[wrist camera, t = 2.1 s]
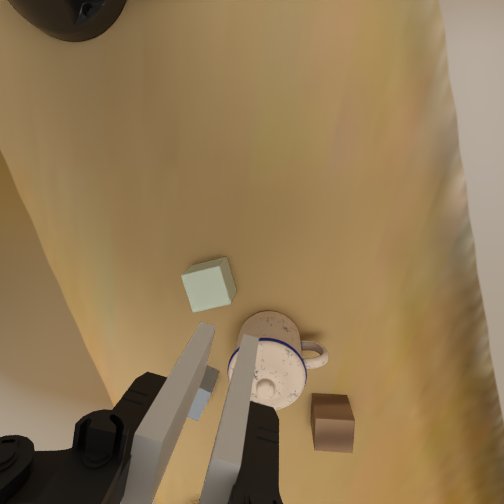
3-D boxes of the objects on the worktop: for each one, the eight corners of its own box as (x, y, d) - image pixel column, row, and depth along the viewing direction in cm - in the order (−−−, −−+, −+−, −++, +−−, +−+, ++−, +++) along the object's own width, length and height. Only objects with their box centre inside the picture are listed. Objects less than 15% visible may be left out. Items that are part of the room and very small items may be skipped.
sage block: (192, 265, 41) (180, 275, 37) (226, 256, 41) (219, 265, 36) (203, 298, 42) (193, 312, 38) (236, 290, 42) (230, 304, 37)
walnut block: (311, 392, 44) (315, 418, 39) (346, 394, 44) (355, 420, 39) (310, 421, 45) (314, 450, 40) (344, 423, 45) (352, 453, 40)
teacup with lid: (242, 368, 44) (229, 431, 33) (233, 311, 42) (215, 357, 31) (325, 362, 43) (341, 426, 31) (319, 303, 41) (333, 348, 30)
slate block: (188, 356, 45) (177, 377, 40) (219, 370, 45) (211, 393, 40) (176, 382, 46) (164, 406, 41) (206, 396, 46) (197, 421, 41)
